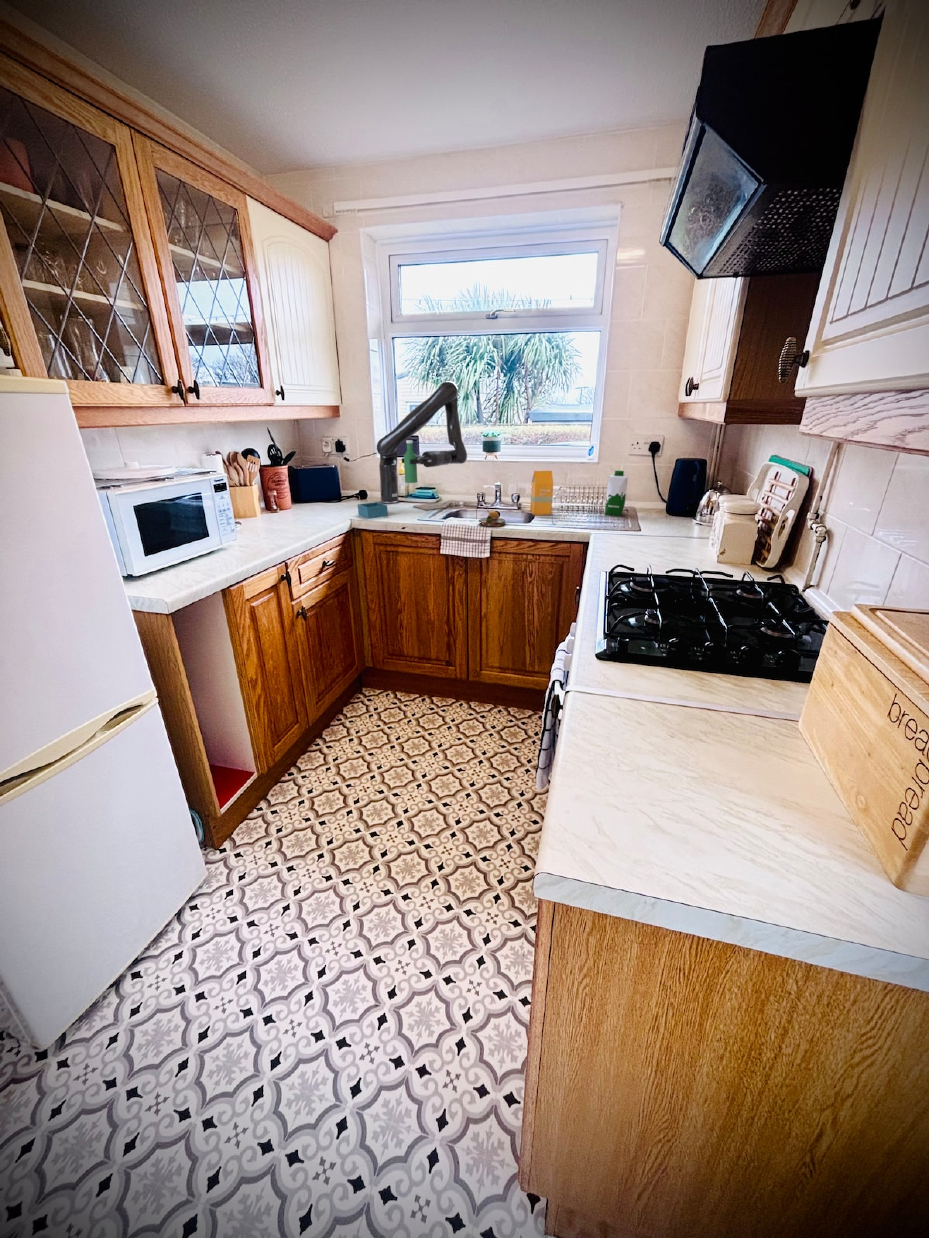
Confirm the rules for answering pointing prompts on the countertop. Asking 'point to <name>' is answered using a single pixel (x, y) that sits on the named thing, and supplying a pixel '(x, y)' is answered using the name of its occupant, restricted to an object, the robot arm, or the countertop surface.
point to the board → (430, 506)
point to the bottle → (410, 468)
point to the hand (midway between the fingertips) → (406, 461)
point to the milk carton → (616, 493)
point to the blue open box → (372, 510)
